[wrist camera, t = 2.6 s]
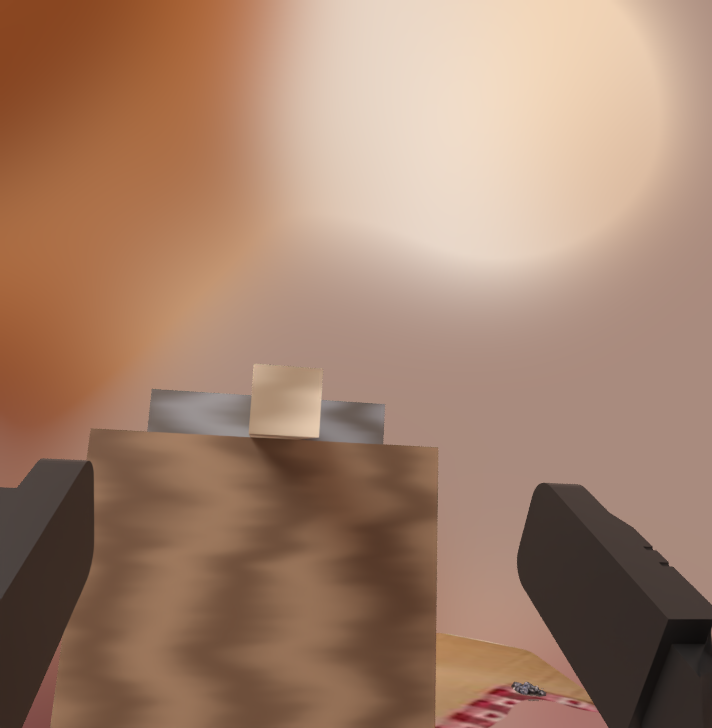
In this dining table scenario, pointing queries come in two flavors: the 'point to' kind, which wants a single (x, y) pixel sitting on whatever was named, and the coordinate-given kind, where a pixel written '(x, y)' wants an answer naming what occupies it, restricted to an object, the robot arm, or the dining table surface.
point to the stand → (254, 586)
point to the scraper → (269, 410)
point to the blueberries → (528, 690)
